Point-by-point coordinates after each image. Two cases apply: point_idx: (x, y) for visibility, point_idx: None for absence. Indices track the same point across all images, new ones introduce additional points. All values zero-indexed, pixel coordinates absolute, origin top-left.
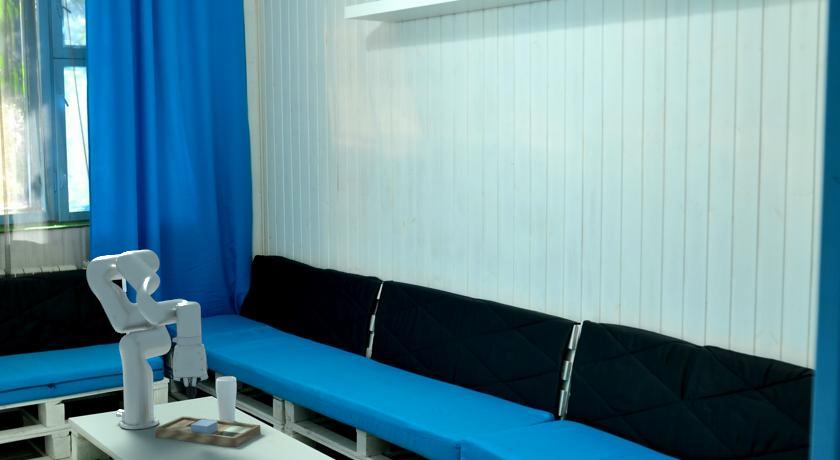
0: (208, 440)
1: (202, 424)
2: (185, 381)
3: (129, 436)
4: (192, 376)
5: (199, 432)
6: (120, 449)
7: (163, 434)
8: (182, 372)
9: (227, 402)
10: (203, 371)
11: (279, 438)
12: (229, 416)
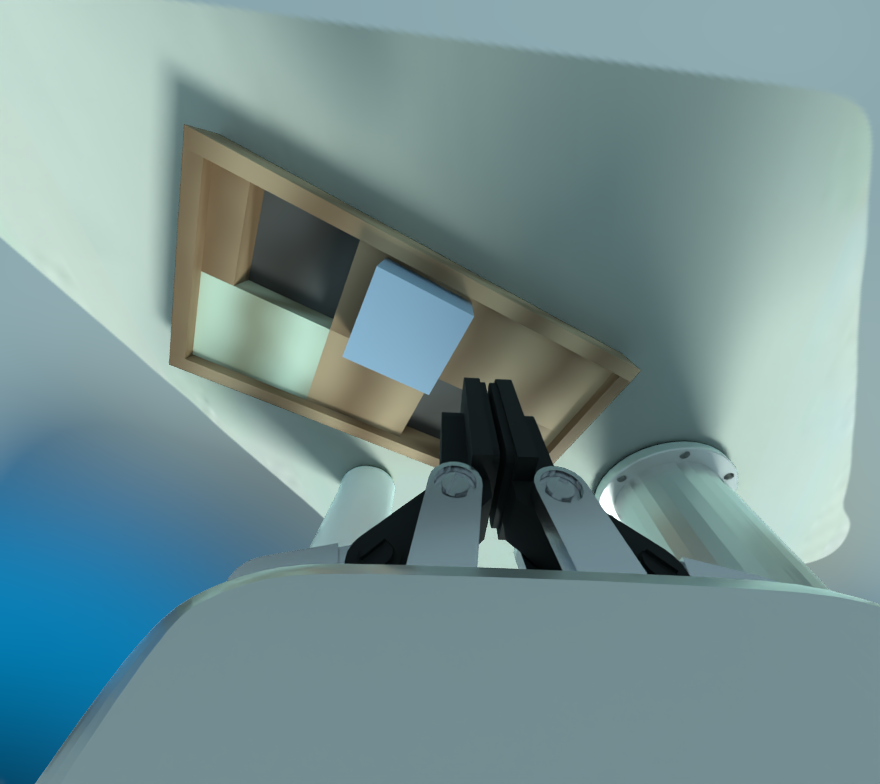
0: (376, 223)
1: (409, 308)
2: (590, 529)
3: (725, 370)
4: (476, 582)
5: (426, 281)
6: (831, 164)
7: (595, 342)
8: (848, 763)
9: (336, 527)
10: (75, 760)
11: (73, 270)
12: (348, 484)
